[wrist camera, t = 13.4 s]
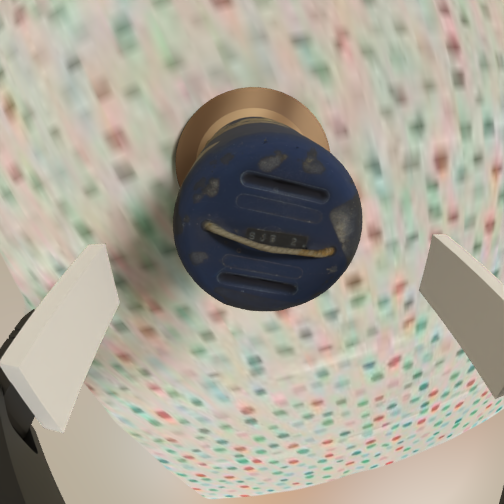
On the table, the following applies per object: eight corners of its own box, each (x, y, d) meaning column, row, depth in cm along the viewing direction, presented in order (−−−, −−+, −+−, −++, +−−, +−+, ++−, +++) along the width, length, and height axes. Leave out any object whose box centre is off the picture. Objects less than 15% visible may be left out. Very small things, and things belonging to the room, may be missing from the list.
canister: (232, 97, 27) (223, 89, 11) (321, 145, 29) (415, 205, 13) (187, 186, 30) (133, 288, 14) (272, 227, 33) (304, 355, 17)
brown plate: (161, 209, 32) (159, 212, 31) (204, 68, 26) (203, 67, 25) (295, 250, 35) (296, 254, 34) (350, 121, 29) (353, 122, 28)
